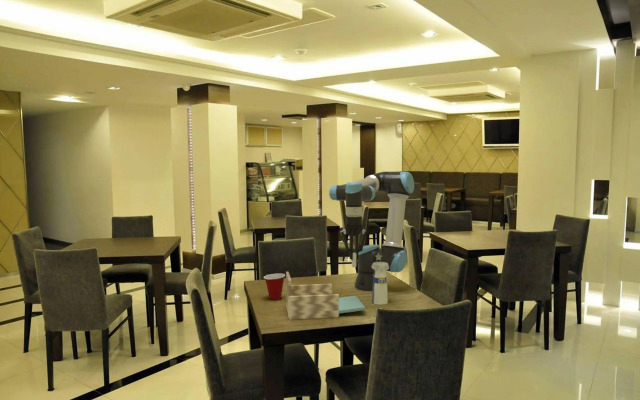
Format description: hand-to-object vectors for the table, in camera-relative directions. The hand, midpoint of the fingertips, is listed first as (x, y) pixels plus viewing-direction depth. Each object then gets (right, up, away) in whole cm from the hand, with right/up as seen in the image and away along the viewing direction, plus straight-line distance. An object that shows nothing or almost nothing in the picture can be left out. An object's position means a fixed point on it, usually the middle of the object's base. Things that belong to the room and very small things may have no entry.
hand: (354, 266), depth 217 cm
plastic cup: (-39, -19, +20) cm, 48 cm away
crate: (-20, -21, -1) cm, 29 cm away
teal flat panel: (-9, -19, 0) cm, 21 cm away
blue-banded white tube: (+14, -20, +12) cm, 27 cm away
